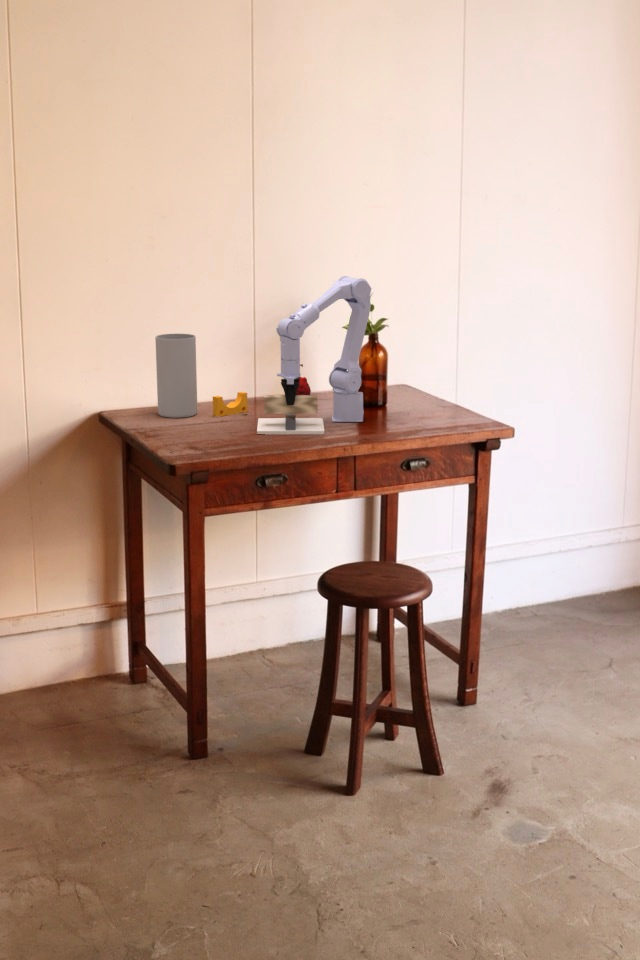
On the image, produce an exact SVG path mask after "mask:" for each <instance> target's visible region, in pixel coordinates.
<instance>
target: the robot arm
mask: <svg viewBox="0 0 640 960" xmlns="http://www.w3.org/2000/svg"><path fill="white" fill-rule="evenodd" d="M371 291H372V287H371V285H370V284H369V283H368V281H367V279H365V278H361V277H360V278H357V277H350V276H346V275H344V276H340V278H339V279H338V280H335V281H334V282H333V284H332V285H331V287H329V288H328V289H327V290H326V291H325V292H324V293H322V294H321V296H319V297H318V298H317V299H316V300H315V301H314V302H313V303H309V302H307V303H303V304H301V305H300V308H299V309H298V310H296V311H295V312H294V313H290V314H289V317H286V318H285V317H284V318H283V319H281V320H280V321H279V323H278V325H277V327H276V328H275V329H276V333H277V335H278V336H279V341H280V372H277V373H276V377H280V378H281V379H280V385H281V387H282V389H283V392H284V395H285V398H286V403H287V405H294V403H295V397H296V392H297V389H298V387H299V385H300V383H299V381H300V379H299V378H298V377H302V376H301V366H300V364H301V357H300V356H301V355H300V353H301V350H300V349H301V345H300V344H301V338H302V337H303V335H304V332H305V330H307V329H308V328H309V327H310V326H311V325H312V324H313V323H315V322H316V321H317V320H319V318H320V315H321V314H320V313H322V312H323V311H324V310H325V309H327V308H328V307H330V306H331V305H333V304H334V303H336V302H337V301H339V300H344V301H345V302H347V303H348V305H349V307H350V309H351V312H350V318H349V320H348V321H349V322H348V324H347V325H348V326H347V329H346V335H345V338H344V342H343V343H344V344H343V346H342V350H341V351H342V352H341V356H340V359H339V360H337V361H336V362H335V363H334V366H333V369H332V371H330V373H329V376H328V384H329V385H330V386H331V388H332V391H333V393H332V394H333V397H332V398H333V402H332V403H333V407H332V408H333V409H332V411H333V413H332V415H331V422H332V423H362V422H364V413H365V411H364V392H362V391H359V389H360V387H361V386H362V372H363V370H362V368H361V366H360V365H359V359H360V355H361V350H362V346H363V342H364V338H365V334H366V329H367V325H368V321H369V317H370V314H371V313H370V312H371V308H372V306H371V293H372V292H371Z"/></svg>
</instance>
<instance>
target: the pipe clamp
mask: <svg viewBox="0 0 640 960" xmlns="http://www.w3.org/2000/svg"><path fill="white" fill-rule="evenodd" d="M223 398H224V397H223V396H220V395H213V396H212V416H213V417H215V416H217V417H216V418H220V417H219V416H222V417H225V415H227V416H231V415H230V414H233V415H237V414H236V413H239V414H242V413H241V412H244V413H248V392H245V391H239V392H238V391H237V394H236V398H235V401H230V402H229V403H228V404H225V402H224V399H223Z"/></svg>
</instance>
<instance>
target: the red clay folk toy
mask: <svg viewBox="0 0 640 960" xmlns="http://www.w3.org/2000/svg"><path fill="white" fill-rule="evenodd" d="M300 367H302V368H303V367H304V364H303V363H300ZM298 378H299V379H300V381H299V383H300V385H299V387H298V389H297V392H296V395H311V392H312V390H311V387H310V384H309V383H308V379H307V377H305V376H304V377H302V376H300V377H298Z"/></svg>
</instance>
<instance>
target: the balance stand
mask: <svg viewBox="0 0 640 960" xmlns="http://www.w3.org/2000/svg"><path fill="white" fill-rule="evenodd" d="M296 415H297V414H285V417H281V418H280V417H279V418H278V417H277V418H276V417H275V418H274V417H267V418H266V417H265V418H263V417H262V418H261V417H258V418H257V419H258V420H257V428H256V435H257V434H265V435H325V427H324V425H325V424H324V419H323V418H322V417H296Z"/></svg>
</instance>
